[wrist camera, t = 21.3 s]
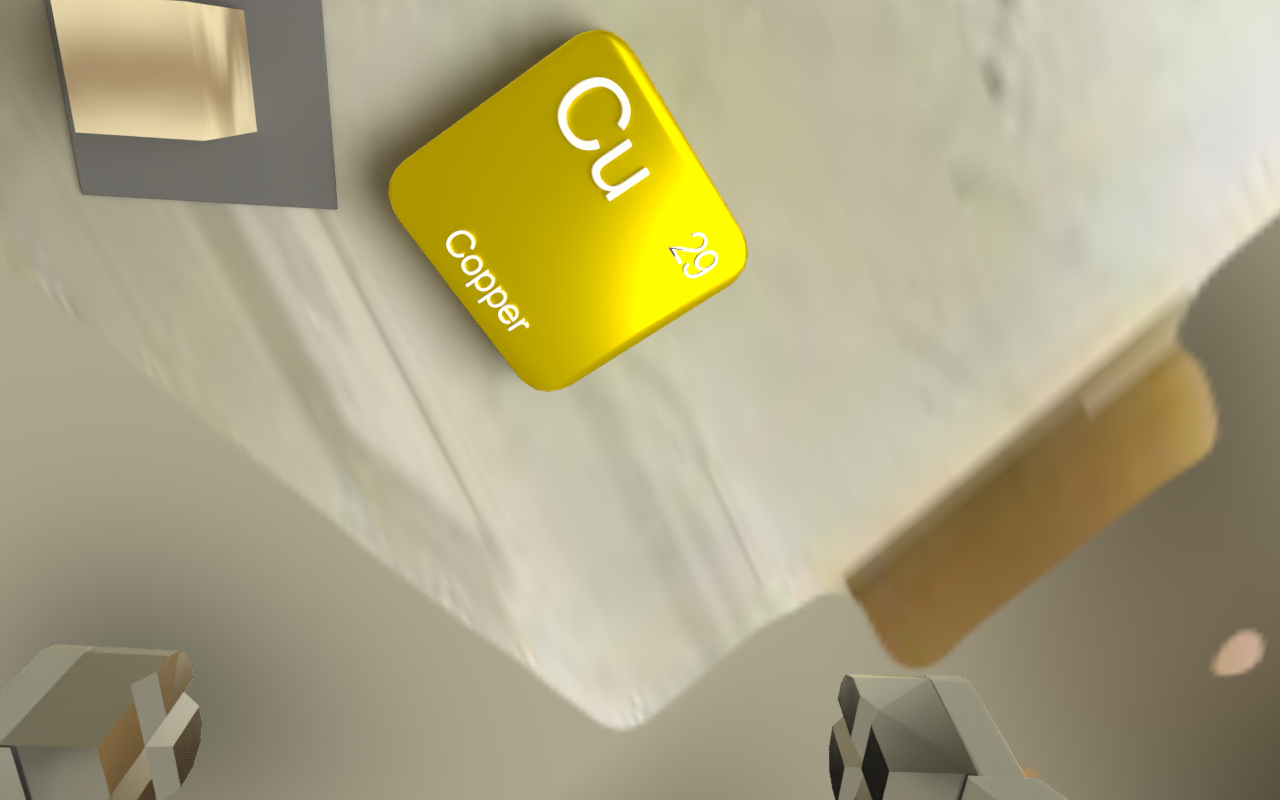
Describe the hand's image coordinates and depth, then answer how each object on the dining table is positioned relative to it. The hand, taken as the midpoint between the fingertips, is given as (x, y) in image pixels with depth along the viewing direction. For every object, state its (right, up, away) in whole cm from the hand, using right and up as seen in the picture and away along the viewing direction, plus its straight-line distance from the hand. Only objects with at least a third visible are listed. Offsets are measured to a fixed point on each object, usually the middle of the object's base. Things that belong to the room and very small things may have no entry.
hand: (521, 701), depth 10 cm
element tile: (-2, +15, +37) cm, 40 cm away
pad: (-22, +22, +33) cm, 45 cm away
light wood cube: (-22, +21, +33) cm, 45 cm away
